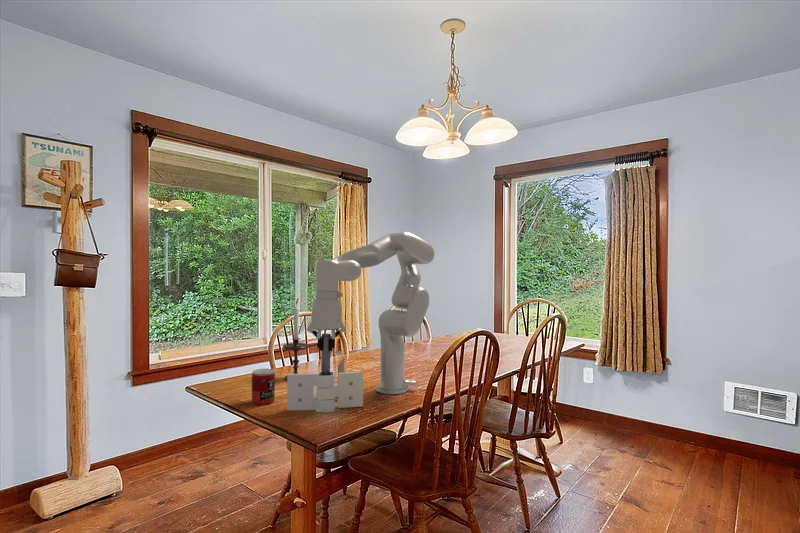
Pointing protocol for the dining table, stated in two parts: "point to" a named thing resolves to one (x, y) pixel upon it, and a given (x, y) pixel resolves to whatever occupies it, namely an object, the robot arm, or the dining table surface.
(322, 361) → the pin
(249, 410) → the dining table surface
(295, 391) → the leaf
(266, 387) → the canned food
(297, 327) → the candlestick
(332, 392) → the leaf
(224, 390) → the dining table surface
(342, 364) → the laptop
